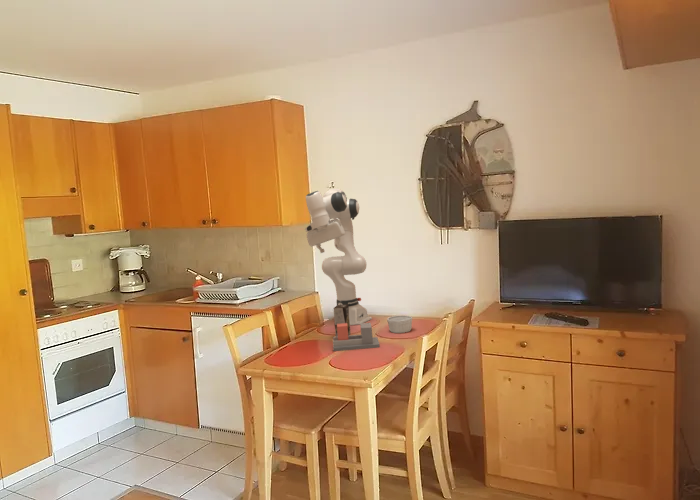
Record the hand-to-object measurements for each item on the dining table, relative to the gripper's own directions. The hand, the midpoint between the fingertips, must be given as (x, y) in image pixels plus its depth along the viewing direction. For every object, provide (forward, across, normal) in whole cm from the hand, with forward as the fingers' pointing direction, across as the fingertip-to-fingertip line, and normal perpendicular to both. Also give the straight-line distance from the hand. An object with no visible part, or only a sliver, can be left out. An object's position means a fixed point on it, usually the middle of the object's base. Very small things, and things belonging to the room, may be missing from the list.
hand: (330, 250), depth 272 cm
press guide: (+48, +1, +2) cm, 48 cm away
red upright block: (+45, +6, +6) cm, 46 cm away
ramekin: (+52, -8, -29) cm, 60 cm away
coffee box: (+45, +16, -12) cm, 49 cm away
